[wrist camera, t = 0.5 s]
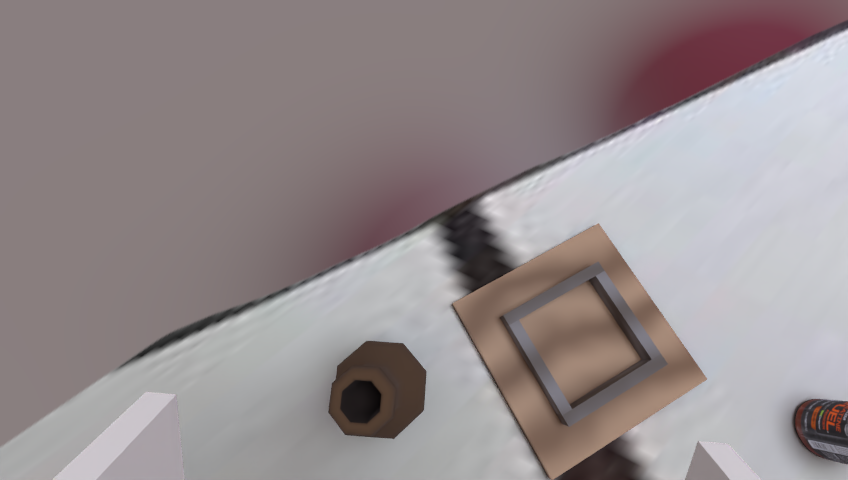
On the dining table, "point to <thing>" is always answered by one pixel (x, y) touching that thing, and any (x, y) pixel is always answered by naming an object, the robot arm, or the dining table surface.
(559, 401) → the holder board
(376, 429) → the beer bottle
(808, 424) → the supplement bottle
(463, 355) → the dining table surface
